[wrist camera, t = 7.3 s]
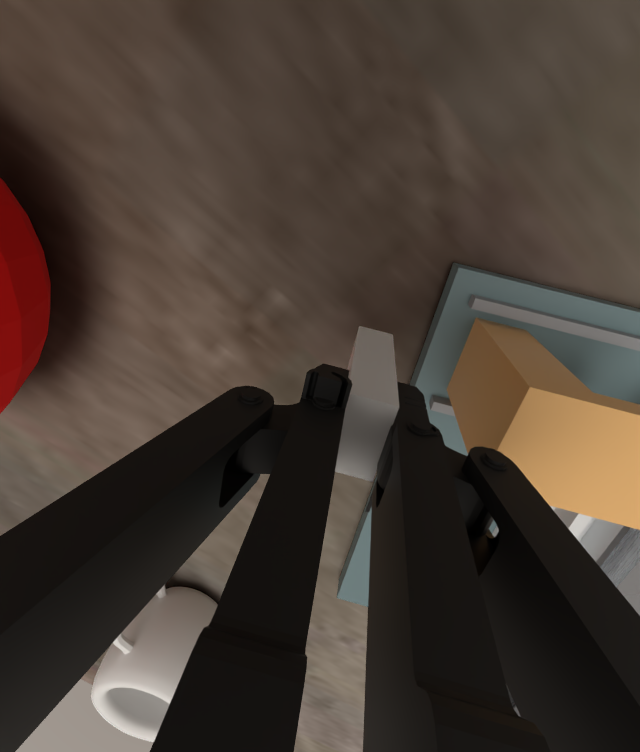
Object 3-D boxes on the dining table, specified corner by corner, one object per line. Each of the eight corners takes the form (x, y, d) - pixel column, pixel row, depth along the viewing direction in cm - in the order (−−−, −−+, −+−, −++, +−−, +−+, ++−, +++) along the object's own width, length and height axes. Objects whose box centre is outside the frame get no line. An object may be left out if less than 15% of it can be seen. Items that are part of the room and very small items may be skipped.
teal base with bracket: (453, 262, 19) (504, 310, 11) (912, 376, 18) (1329, 518, 10) (338, 579, 30) (322, 723, 22) (628, 661, 29) (724, 843, 21)
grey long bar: (705, 433, 14) (731, 452, 13) (787, 454, 14) (820, 475, 13) (494, 699, 23) (500, 724, 22) (546, 714, 23) (554, 740, 22)
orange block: (476, 317, 19) (530, 386, 12) (609, 351, 18) (743, 442, 12) (446, 389, 20) (478, 486, 14) (568, 421, 20) (663, 536, 13)
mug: (252, 637, 34) (219, 751, 27) (170, 641, 36) (119, 748, 29) (197, 535, 30) (140, 640, 23) (107, 547, 32) (29, 646, 25)
